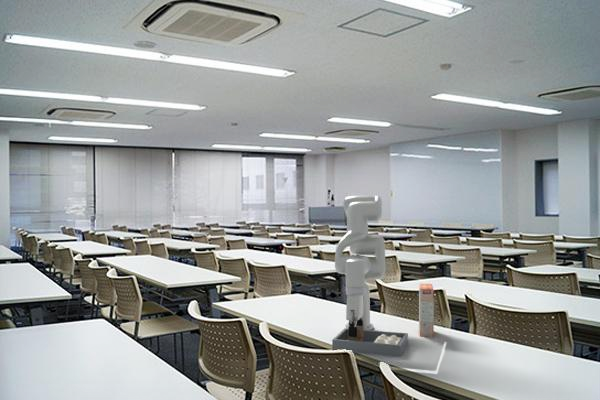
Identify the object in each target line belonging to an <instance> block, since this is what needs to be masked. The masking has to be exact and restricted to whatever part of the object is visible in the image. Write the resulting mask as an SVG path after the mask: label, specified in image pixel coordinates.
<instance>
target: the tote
mask: <svg viewBox="0 0 600 400" xmlns="http://www.w3.org/2000/svg"><path fill="white" fill-rule="evenodd" d="M382 334H384V335H386V336H387V337H391V336H392V335H395V336H397V337H399V338H401V341H400V343H399V344H398V345H396V344H385V343H374V341H375V340H376V339H377V337H378V336H381V335H382ZM331 342H332V344H331V345H332V346H331V347H332V348H331V349H332V351H334V350H337V349H346V350H352V351H353V352H352V353H358V354H359V353H360V354H368V355H369V354H370V355H379V356H380V355H381V356H388V357H391V356H392V357H399V358H402V355H403V353H404V352H405V349H406V348H407V346H408V344H409V333H406V332H396V331H395V332H394V331H383V330H382V331H381V330H372V329H371V330H364V342H361V341H350V340H348V329H347V328H344V329H342V330H341V331H340V332H339V333H337V334H336V336H335V337H333V338H332V341H331Z"/></svg>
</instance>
